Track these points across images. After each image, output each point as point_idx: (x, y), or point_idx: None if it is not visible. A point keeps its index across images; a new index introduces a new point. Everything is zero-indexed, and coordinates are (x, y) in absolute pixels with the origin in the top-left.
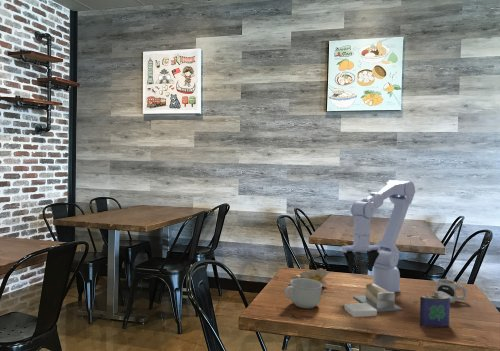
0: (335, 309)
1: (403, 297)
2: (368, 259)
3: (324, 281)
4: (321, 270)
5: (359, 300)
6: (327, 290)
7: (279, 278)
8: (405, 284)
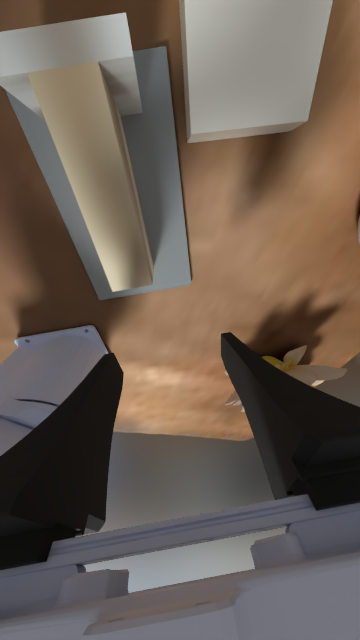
0: (326, 133)
1: (4, 285)
2: (106, 434)
3: None
4: None
5: (186, 239)
6: None
7: None
8: None
